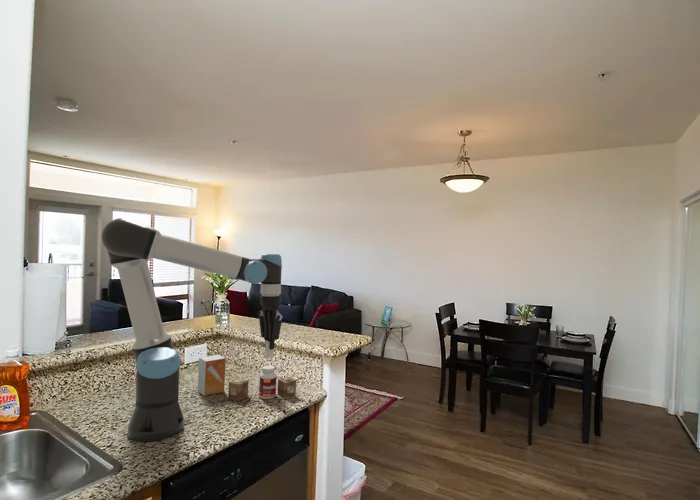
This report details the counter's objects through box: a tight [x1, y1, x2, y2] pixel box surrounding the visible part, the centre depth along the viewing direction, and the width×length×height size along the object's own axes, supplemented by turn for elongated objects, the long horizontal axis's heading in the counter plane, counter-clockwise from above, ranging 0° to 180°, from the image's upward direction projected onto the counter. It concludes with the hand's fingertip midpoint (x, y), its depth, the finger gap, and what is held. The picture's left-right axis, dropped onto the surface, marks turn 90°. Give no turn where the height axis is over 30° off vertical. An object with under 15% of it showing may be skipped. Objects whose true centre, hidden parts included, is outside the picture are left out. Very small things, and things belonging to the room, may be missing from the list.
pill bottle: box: [258, 365, 277, 400], centre depth 148 cm, size 6×6×11 cm
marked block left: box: [227, 377, 249, 402], centre depth 146 cm, size 5×5×6 cm
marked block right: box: [277, 376, 297, 399], centre depth 150 cm, size 5×5×6 cm
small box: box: [197, 354, 226, 397], centre depth 151 cm, size 8×6×13 cm
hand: (269, 357), depth 148 cm, fingers closed
